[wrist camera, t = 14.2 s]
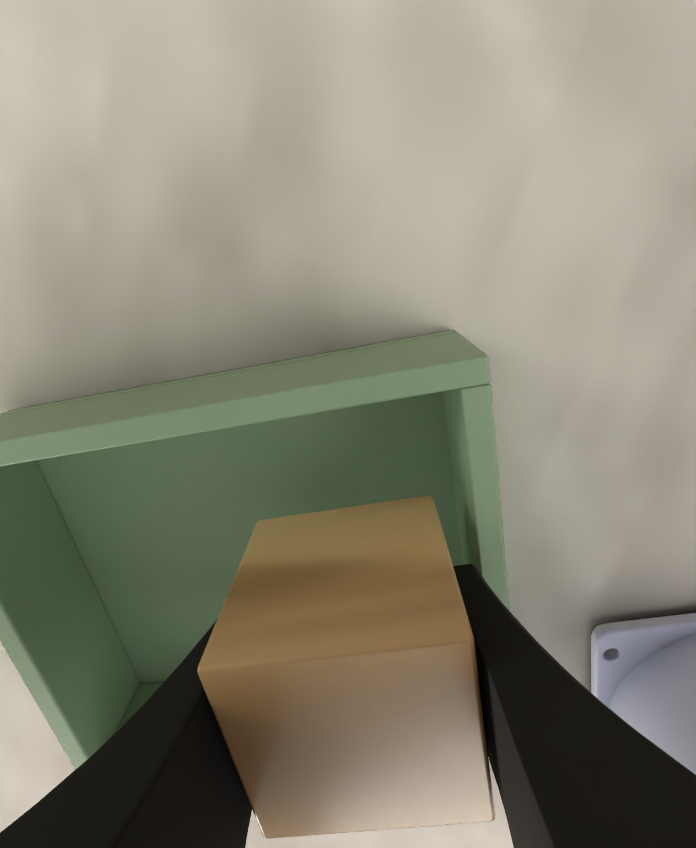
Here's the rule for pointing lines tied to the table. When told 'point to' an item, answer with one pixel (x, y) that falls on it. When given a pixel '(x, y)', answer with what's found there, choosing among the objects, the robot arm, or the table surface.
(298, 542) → the beech block
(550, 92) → the table surface
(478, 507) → the bin
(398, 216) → the table surface
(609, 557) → the table surface
